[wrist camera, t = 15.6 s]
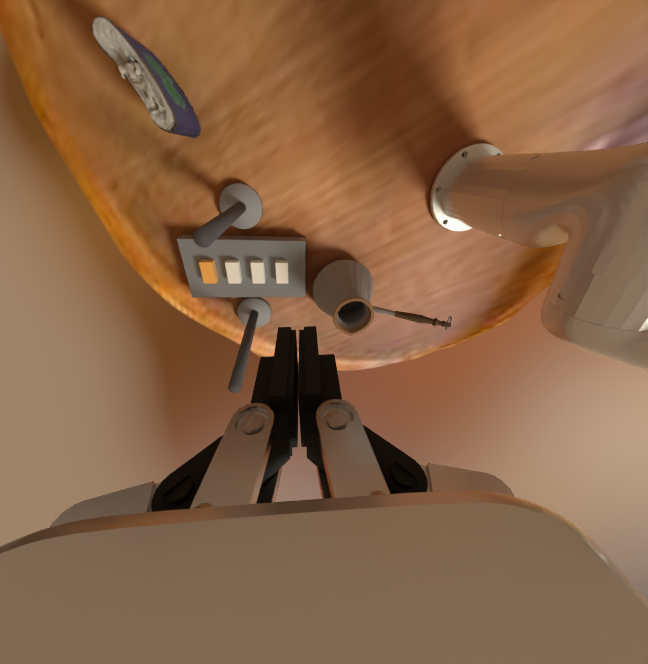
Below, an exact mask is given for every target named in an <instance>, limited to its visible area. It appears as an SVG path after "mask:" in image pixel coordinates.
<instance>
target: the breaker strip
mask: <svg viewBox="0 0 648 664" xmlns="http://www.w3.org/2000/svg"><path fill="white" fill-rule="evenodd" d="M177 242H178V246H179V249H180V253H181V257H182V261H183V264H184V268H185V272H186V275H187V279H188V283H189V286H190V290H191V294H192V297H305V237H286V236H237V235H220V236H219V237H218V238H217V239H216V240H215V241H214V242H213V243H212V244H211V245H210V246H209V247H207V248H202V247H199V246H198V245H196V243H195V242H194V240H193V235H188V234H183V235H182V236H180V237H179V238H177Z"/></svg>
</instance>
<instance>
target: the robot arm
mask: <svg viewBox="0 0 648 664" xmlns="http://www.w3.org/2000/svg"><path fill="white" fill-rule="evenodd" d="M462 153H463V155H462ZM436 188H437V190H436ZM430 208H431V213H432V215H433V217H434V219H435V221H436V222H437V223H438V224H439V225H440V226H442V227H443V228H445V229H447V230H451V231H465V230H469V229H471V228H475V229H478V230H481V231H483V232H486V233H489V234H492V235H495V236H498V237H500V238H503V239H506V240H509V241H512V242H514V243H518V244H521V245H524V246H528V247H547V246H553V245H557V244H560V243H564V242H567V243H566V246H565V249H564V251H563V254H562V258H561V260H560V263H559V265H558V268H557V270H556V272H555V275H554V277H553V280H552V282H551V284H550V287H549V289H548V292H547V295H546V298H545V300H544V303H543V306H542V309H541V321H542V323H543V325H544V327H545V328H546V329H547V331H549V332H550V333H551V334H552V335H553V336H555V337H556V338H558V339H560V340H562V341H564V342H566V343H568V344H570V345H573V346H575V347H577V348H580V349H583V350H586V351H588V352H592V353H594V354H597V355H601V356H604V357H607V358H610V359H613V360H616V361H619V362H622V363H625V364H629V365H632V366H635V367H638V368H641V369H644V370H647V371H648V142H646V143H641V144H635V145H629V146H623V147H616V148H609V149H599V150H588V151H572V152H555V153H533V154H511V155H504V154H503V152H502V151H501V150H500V149H499V148H497V147H495V146H493V145H491V144H486V143H481V144H473V145H469V146H467V147H464V148H462V149H460V150H459V151H457V152H456V153H454V154H453V155H452V156H451V157H450V158H449V159H448V160H447V161H446V162H445V163H444V164H443V166H442V167H441V169H440V170H439V172H438V173H437V175H436V178H435V180H434V182H433V185H432V189H431V193H430ZM443 221H444V222H443ZM298 399H299V415H300V430H301V444H302V447H307V458H308V459H309V460H310V461H311V462H313V463H314V464H315V465H316V466H317V474H318V479H319V484H320V489H321V495H322V499H314V500H300V501H287V502H275V500H276V496H277V491H278V487H279V482H280V477H281V473H282V466H283V465H284V464H285V463H286V462H287V461H288V460H289V459H290V456H292V447H297V441H298ZM0 664H648V602H647V601H646V600H645V598H644V597H643V596H642V595H641V594H640V592H639V591H638V590H637V589H636V588H635V586H634V585H633V584H632V583H631V582H630V580H629V579H628V578H627V577H626V576H625V575H624V573H623V572H622V571H621V570H620V569H619V568H618V567H617V565H615V563H614V562H613V561H612V560H611V559H610V558H609V556H608V555H607V554H606V553H605V552H604V551H603V550H602V549H601V548H600V547H599V546H598V545H597V544H596V543H595V542H594V541H593V540H592V539H591V538H590V537H589V536H588V535H587V534H586V533H585V532H584V531H582V530H581V529H580V528H579V527H577V526H576V525H575V524H574V523H573V522H571V521H569V520H568V519H566V518H565V517H563V516H561V515H560V514H557V513H555V512H553V511H551V510H549V509H547V508H545V507H542V506H540V505H538V504H535V503H532V502H530V501H527V500H524V499H521V498H517V497H515V496H514V495H513V493H512V491H511V489H510V488H509V487H508V486H507V485H506V484H505V483H504V482H503V481H502V480H500V479H499V478H497V477H495V476H494V475H490V474H488V473H483V472H477V471H471V470H466V469H460V468H454V467H448V466H442V465H436V464H431V463H428V464H427V466H425V465H419V464H418V463H417V462H416V461H415V460H414V459H412V458H411V457H409V456H408V455H406V454H405V453H404V452H402V451H401V450H399V449H398V448H396V447H395V446H393V445H392V444H390V443H389V442H387V441H386V440H384V439H383V438H382V437H380V436H379V435H377V434H376V433H374V432H373V431H371V430H370V429H368V428H367V427H365V426H364V425H362V423H361V420H360V418H359V415H358V413H357V411H356V409H355V407H354V406H353V405H351V404H350V403H349V402H347V401H344V400H342V398H341V392H340V386H339V380H338V374H337V367H336V361H335V356H334V354H329V355H318V343H317V331H316V326H311V327H304V330H299V376H298V359H297V342H296V330H291V327H279V328H278V333H277V340H276V347H275V354H274V356H272V357H261V359H260V363H259V368H258V372H257V377H256V381H255V386H254V390H253V395H252V401H251V404H247V405H245V406H243V407H241V408H239V409H238V410H237V411H236V412H235V413H234V414H233V416H232V418H231V419H230V422H229V424H228V426H227V428H226V430H225V433H224V435H222V436H221V437H220V438H218V439H217V440H216V441H214V442H213V443H212V444H210V445H209V446H208V447H206V448H205V449H203V450H202V451H201V452H200V453H198V454H197V455H195V456H194V457H193V458H191V459H190V460H189V461H187V462H186V463H185V464H183V465H182V466H181V467H179V468H178V469H177V470H175V471H174V472H173V473H171V474H170V475H169V476H168V477H167V478H165V479H164V480H163V481H162V482H160V483H157V484H155V482H154V481H152V482H148V483H145V484H141V485H138V486H134V487H131V488H127V489H123V490H120V491H117V492H113V493H109V494H106V495H103V496H99V497H95V498H92V499H88V500H85V501H82V502H80V503H77V504H75V505H73V506H72V507H70V508H69V509H67V510H66V511H64V512H63V513H62V514H61V515H60V516H59V517H58V518H57V519H56V520H55V521H54V522H53V523H52V524H51V526H50V527H49V528H46V529H43V530H40V531H37V532H35V533H32V534H29V535H27V536H24V537H21V538H19V539H16V540H14V541H12V542H10V543H7V544H5V545H3V546H0Z"/></svg>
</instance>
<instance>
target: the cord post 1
mask: <svg viewBox="0 0 648 664" xmlns="http://www.w3.org/2000/svg"><path fill="white" fill-rule="evenodd" d="M219 207H220V210H221V214H219V215H218V216H217V217H215V218H214V219H212V220H211V221H209V222H208V223H206V224H205V225H203V226H202V227H200V228H199V229H197V230H196V231H195V232H194V233H193V240H194V242H195V243H196V245H198V246H199V247H202V248H207V247H209V246H210V245H211V244H212V243H213V242H214V241H215V240H216V239H217V238H218V237H219V236H220V235H221V234H222V233H223V232H224V231H225V230H226V229H228V228H229V227H230V226H231V225H232V226H234V227H236V228H240V229H249V228H251V227H253V226H255V225H256V224H257V223H258V222H259V220H260V218H261V216H262V211H263V207H262V202H261V199H260V197H259V195H258V194H257V192H256V191H255V190H254V189H253V188H251V187H250V186H248V185H246V184H243V183H234V184H231V185H229V186H227V187H226V188H225V189H224V190H223V191H222V193H221V195H220V199H219Z"/></svg>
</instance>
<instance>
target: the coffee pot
mask: <svg viewBox="0 0 648 664" xmlns="http://www.w3.org/2000/svg"><path fill="white" fill-rule="evenodd" d="M373 286H374V284H373V279H372V276H371V274H370V272H369V270H368V269H367V268H366V267H365V266H363V265H362V264H360V263H358V262H356V261H353V260H338V261H335V262H332V263H330V264H328V265H327V266H325V267H324V268H323V269H322V270H321V271H320V272H319V273H318V275H317V277H316V279H315V281H314V285H313V297H314V300H315V302H316V304H317V305H318V307H319V308H320V309H321V310H322V311H323V312H325V313H326V314H328V315H330V316H332V317H333V321H334V324H335V326H336V327H337V328H338V329H339V330H340V331H342V332H343V333H345V334H348V335H350V336H351V335H354V334H357V333H359V332H362V331H363V330H365V329H366V328H367V327H369V326H370V324H371V323H372V321H373V318H374V312H377V313H382V314H387V315H393V316H395V317H399V318H403V319H407V320H410V321H414V322H418V323H428V324H432V325H433V326H436V325H441V326H442V327H445V329H446V330H447V329H448V328H449V327H450V326H451V320H452V317H451V316H450V317H449V318H448V320H447V322H445V321H439V320H438V319H437V318H435V319H431V318H428V317H425V316H422V315H418V314H411V313H405V312H399V311H392V310H387V309H383V308H379V307H375V306H372V305H371V303H369V302H370V300H371V297H372V294H373ZM449 319H450V322H449V323H448V321H449Z"/></svg>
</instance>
